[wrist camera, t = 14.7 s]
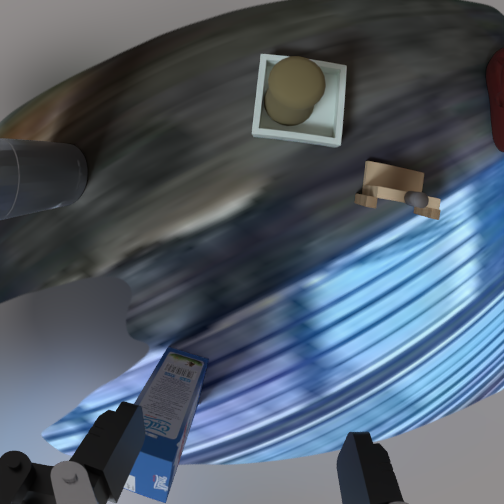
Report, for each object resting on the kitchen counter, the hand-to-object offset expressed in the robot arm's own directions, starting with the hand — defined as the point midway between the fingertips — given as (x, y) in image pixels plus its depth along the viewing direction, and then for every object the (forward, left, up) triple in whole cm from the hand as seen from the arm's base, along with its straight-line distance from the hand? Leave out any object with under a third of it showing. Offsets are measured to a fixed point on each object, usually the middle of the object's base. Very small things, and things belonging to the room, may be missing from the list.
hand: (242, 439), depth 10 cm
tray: (+2, +19, -30) cm, 36 cm away
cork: (+1, +19, -29) cm, 35 cm away
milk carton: (-10, -21, -30) cm, 38 cm away
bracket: (+15, +10, -30) cm, 35 cm away
